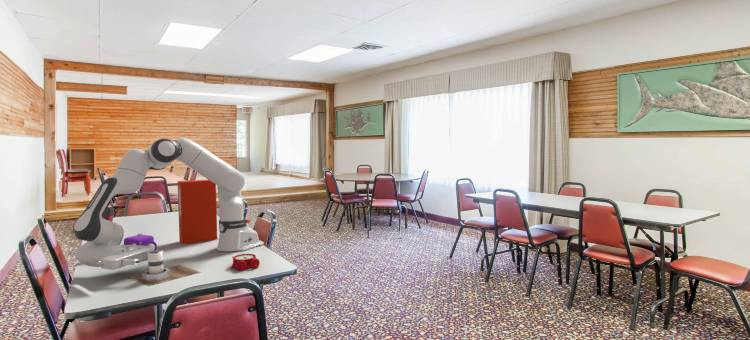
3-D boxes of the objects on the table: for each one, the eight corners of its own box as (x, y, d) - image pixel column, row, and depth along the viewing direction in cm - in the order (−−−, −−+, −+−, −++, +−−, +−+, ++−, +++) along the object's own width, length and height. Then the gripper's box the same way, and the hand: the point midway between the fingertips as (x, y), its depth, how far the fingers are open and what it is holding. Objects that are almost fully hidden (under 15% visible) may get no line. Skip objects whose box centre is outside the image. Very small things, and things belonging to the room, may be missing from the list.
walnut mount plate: (179, 267, 174) (179, 264, 174) (201, 274, 164) (201, 272, 164) (127, 279, 159) (127, 277, 158) (148, 288, 148) (148, 286, 148)
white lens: (162, 274, 161) (161, 249, 160) (165, 278, 157) (164, 251, 156) (147, 277, 158) (146, 251, 157) (150, 281, 154) (149, 254, 153)
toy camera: (146, 261, 184) (145, 238, 183) (120, 259, 186) (119, 237, 186) (163, 254, 194) (163, 233, 194) (138, 253, 197) (137, 232, 196)
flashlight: (103, 255, 194) (101, 206, 193) (120, 255, 194) (117, 206, 193) (91, 259, 187) (89, 208, 185) (108, 259, 186) (106, 208, 185)
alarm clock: (252, 252, 184) (262, 252, 172) (253, 266, 183) (264, 267, 171) (228, 256, 179) (236, 255, 166) (229, 270, 178) (238, 271, 165)
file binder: (217, 239, 224) (215, 180, 222) (182, 244, 214) (180, 182, 212) (213, 237, 231) (211, 179, 229) (179, 241, 221) (177, 181, 219)
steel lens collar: (162, 273, 163) (162, 266, 163) (173, 277, 158) (173, 270, 158) (139, 278, 156) (138, 272, 156) (150, 283, 151) (149, 276, 151)
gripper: (91, 255, 151) (123, 257, 147) (136, 242, 170) (165, 244, 167) (92, 272, 151) (123, 275, 148) (136, 257, 171) (165, 259, 168)
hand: (146, 258), depth 158 cm, fingers open, 8 cm apart
